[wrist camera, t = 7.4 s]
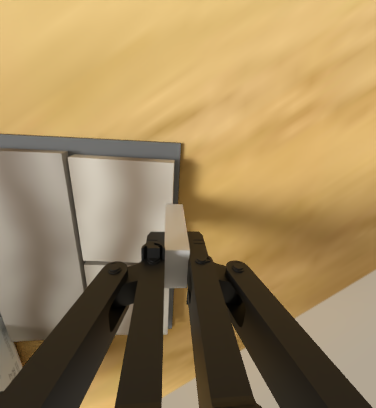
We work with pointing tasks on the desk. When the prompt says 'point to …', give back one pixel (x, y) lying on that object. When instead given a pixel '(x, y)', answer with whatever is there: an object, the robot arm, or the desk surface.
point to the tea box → (7, 358)
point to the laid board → (37, 242)
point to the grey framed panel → (104, 149)
